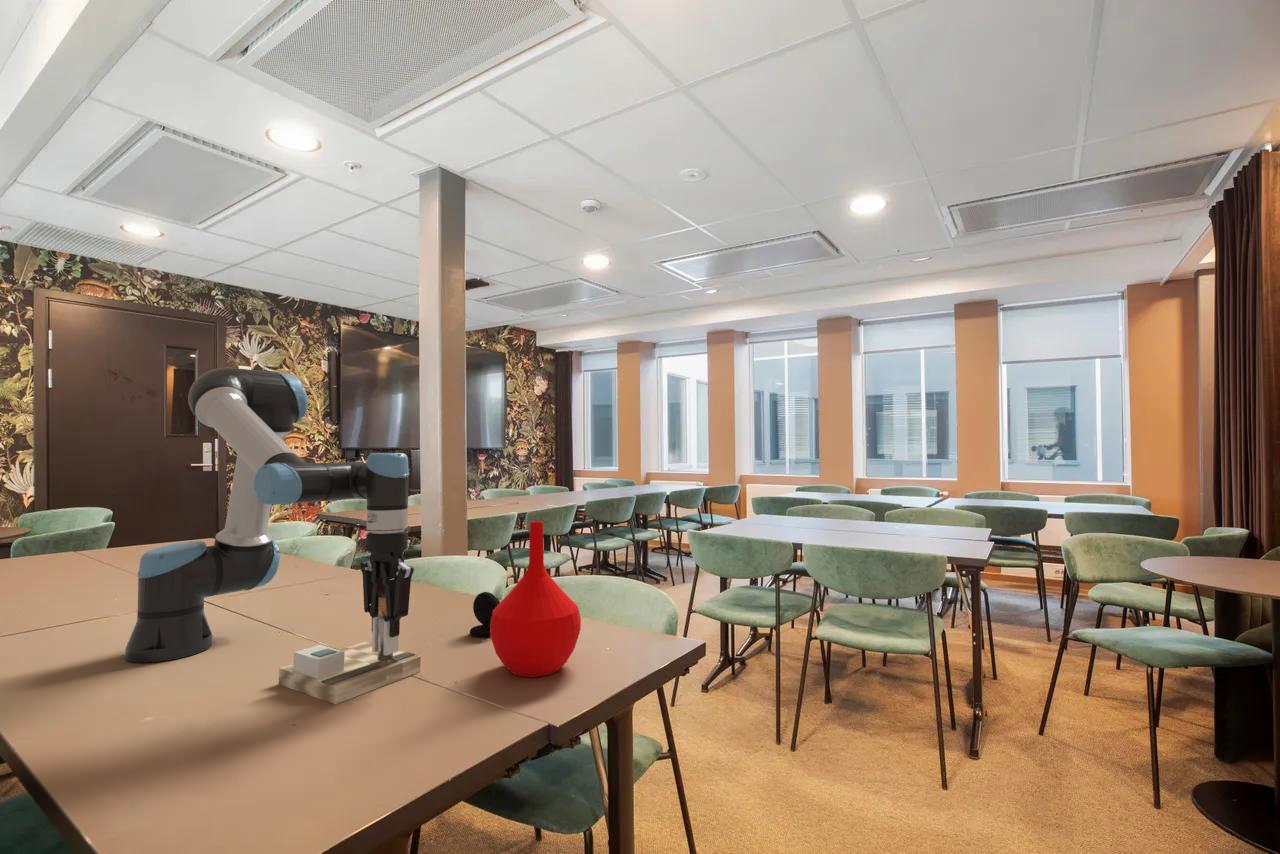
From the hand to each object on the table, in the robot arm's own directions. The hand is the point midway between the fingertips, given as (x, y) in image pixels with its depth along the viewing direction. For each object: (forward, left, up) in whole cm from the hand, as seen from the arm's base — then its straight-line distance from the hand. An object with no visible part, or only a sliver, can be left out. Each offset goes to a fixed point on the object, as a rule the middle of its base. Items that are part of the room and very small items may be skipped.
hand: (385, 651), depth 115 cm
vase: (+22, +19, -5) cm, 30 cm away
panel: (-6, -3, -5) cm, 9 cm away
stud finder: (-7, -9, -2) cm, 12 cm away
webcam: (-4, +31, -5) cm, 32 cm away
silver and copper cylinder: (0, 0, -1) cm, 1 cm away
